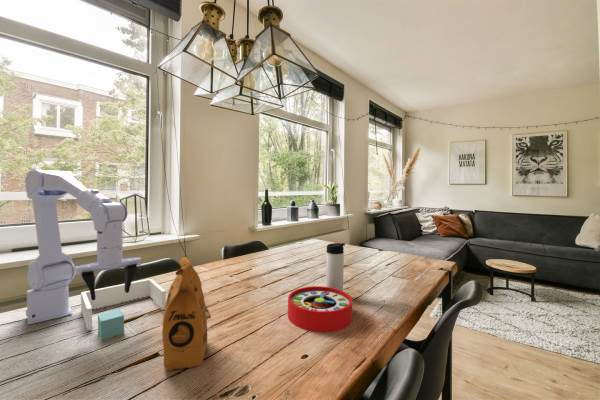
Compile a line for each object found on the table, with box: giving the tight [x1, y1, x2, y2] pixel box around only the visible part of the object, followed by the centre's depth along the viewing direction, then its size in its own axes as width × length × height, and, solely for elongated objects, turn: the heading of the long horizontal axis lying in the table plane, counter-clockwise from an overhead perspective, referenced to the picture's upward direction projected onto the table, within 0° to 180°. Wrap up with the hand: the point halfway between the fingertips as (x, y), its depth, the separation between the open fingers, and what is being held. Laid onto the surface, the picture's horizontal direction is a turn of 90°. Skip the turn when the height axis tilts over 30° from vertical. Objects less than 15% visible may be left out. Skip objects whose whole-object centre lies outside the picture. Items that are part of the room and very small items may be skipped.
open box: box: [80, 278, 167, 332], centre depth 86 cm, size 20×16×6 cm
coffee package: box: [161, 256, 208, 371], centre depth 63 cm, size 10×12×22 cm
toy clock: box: [287, 285, 353, 333], centre depth 85 cm, size 20×6×20 cm
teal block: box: [97, 309, 125, 341], centre depth 73 cm, size 5×5×5 cm
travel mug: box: [325, 242, 346, 291], centre depth 99 cm, size 6×7×20 cm
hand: (110, 295), depth 75 cm, fingers open, 7 cm apart
